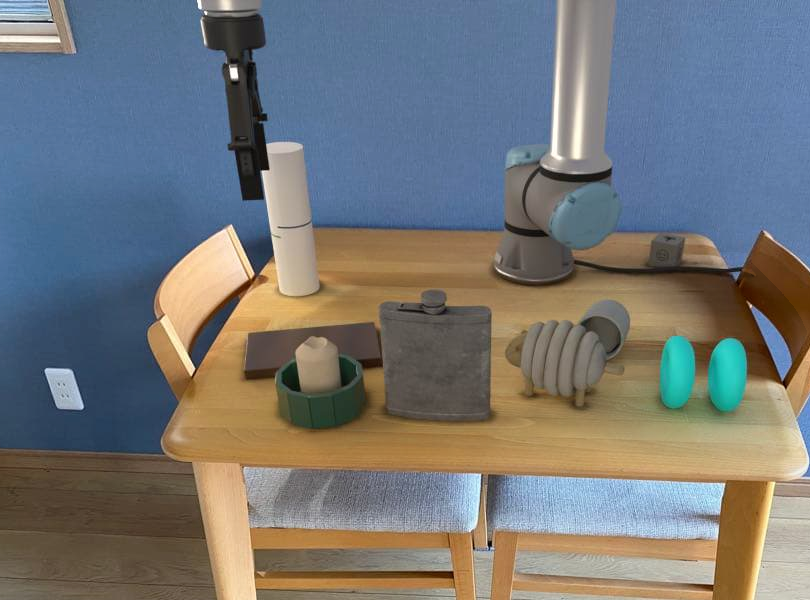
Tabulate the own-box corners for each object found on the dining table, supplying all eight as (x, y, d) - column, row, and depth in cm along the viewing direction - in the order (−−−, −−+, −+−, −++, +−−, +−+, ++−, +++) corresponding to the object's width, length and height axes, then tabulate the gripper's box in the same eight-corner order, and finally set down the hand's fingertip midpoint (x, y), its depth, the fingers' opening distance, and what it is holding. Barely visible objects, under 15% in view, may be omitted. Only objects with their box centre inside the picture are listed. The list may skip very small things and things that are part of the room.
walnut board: (374, 329, 124) (374, 321, 123) (381, 366, 114) (381, 357, 113) (249, 340, 120) (247, 332, 120) (245, 379, 111) (243, 370, 110)
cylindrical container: (310, 297, 134) (292, 154, 120) (273, 294, 135) (250, 151, 121) (325, 281, 140) (309, 143, 126) (289, 278, 141) (269, 140, 127)
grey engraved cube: (681, 261, 148) (685, 237, 145) (673, 270, 145) (677, 245, 142) (657, 256, 150) (660, 232, 148) (648, 265, 147) (651, 240, 144)
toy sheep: (513, 366, 114) (516, 299, 108) (625, 385, 110) (635, 316, 103) (493, 403, 105) (494, 332, 99) (614, 424, 101) (623, 352, 95)
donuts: (655, 383, 110) (665, 322, 105) (726, 387, 109) (739, 325, 104) (663, 422, 102) (673, 357, 96) (739, 426, 101) (754, 361, 95)
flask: (488, 424, 101) (490, 302, 91) (383, 417, 102) (373, 296, 92) (490, 409, 104) (492, 289, 94) (388, 403, 105) (380, 284, 96)
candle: (310, 419, 102) (300, 354, 97) (298, 399, 106) (288, 336, 101) (348, 409, 104) (342, 345, 99) (335, 390, 108) (328, 327, 103)
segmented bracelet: (362, 378, 111) (359, 349, 108) (368, 423, 101) (365, 391, 99) (281, 386, 109) (276, 356, 106) (280, 432, 99) (274, 400, 97)
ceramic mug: (629, 341, 121) (634, 297, 117) (620, 365, 114) (625, 319, 110) (565, 331, 124) (567, 288, 120) (552, 354, 117) (554, 309, 113)
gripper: (211, 2, 103) (237, 160, 115) (184, 25, 83) (219, 215, 94) (267, 2, 104) (287, 158, 116) (255, 25, 84) (280, 212, 95)
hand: (257, 184), depth 105 cm, fingers open, 13 cm apart
